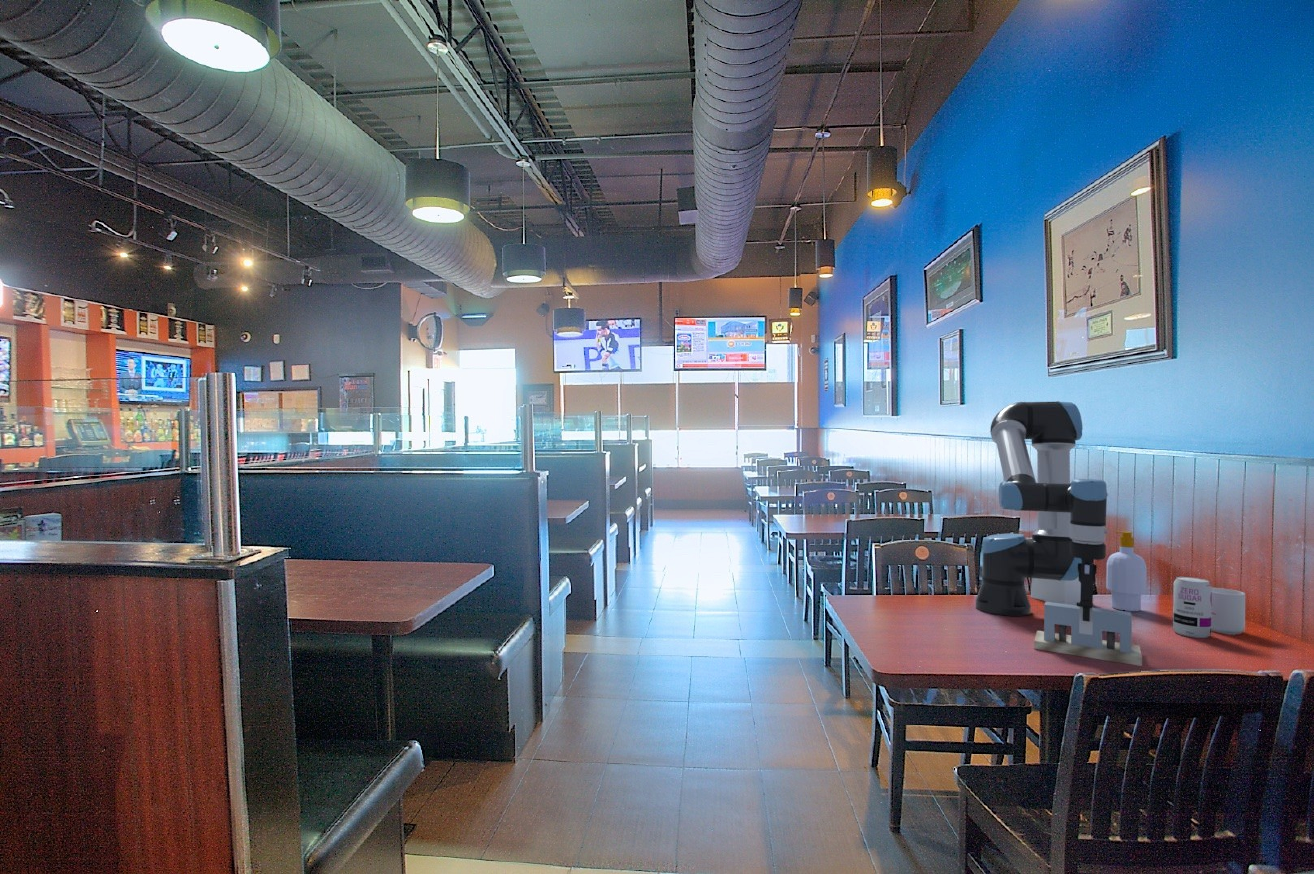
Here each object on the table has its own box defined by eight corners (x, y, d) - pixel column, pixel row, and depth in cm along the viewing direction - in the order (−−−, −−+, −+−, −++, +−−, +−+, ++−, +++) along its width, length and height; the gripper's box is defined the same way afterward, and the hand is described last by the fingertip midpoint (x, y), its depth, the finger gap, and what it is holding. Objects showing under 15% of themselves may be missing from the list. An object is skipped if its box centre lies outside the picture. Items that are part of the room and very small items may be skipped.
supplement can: (1202, 631, 185) (1203, 577, 185) (1216, 640, 177) (1217, 583, 177) (1167, 628, 188) (1168, 575, 188) (1180, 636, 180) (1180, 581, 180)
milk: (1030, 597, 223) (1031, 519, 223) (1053, 594, 228) (1054, 518, 228) (1064, 605, 212) (1065, 524, 212) (1088, 602, 217) (1089, 522, 217)
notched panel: (1043, 640, 168) (1044, 604, 168) (1044, 636, 172) (1045, 601, 172) (1131, 653, 158) (1131, 615, 158) (1130, 649, 162) (1131, 612, 162)
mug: (1253, 635, 182) (1254, 594, 182) (1222, 635, 181) (1223, 594, 181) (1214, 623, 194) (1214, 585, 194) (1185, 623, 193) (1185, 585, 193)
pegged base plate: (1034, 648, 168) (1034, 624, 168) (1037, 637, 177) (1037, 615, 177) (1142, 666, 156) (1142, 640, 156) (1139, 653, 165) (1139, 629, 165)
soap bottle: (1106, 603, 216) (1107, 528, 216) (1145, 608, 210) (1146, 531, 210) (1105, 609, 208) (1106, 532, 208) (1146, 614, 202) (1147, 535, 202)
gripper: (1106, 550, 153) (1104, 642, 153) (1105, 536, 173) (1103, 617, 174) (1068, 547, 157) (1066, 637, 157) (1071, 533, 178) (1069, 612, 178)
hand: (1086, 626), depth 165 cm, fingers open, 13 cm apart
